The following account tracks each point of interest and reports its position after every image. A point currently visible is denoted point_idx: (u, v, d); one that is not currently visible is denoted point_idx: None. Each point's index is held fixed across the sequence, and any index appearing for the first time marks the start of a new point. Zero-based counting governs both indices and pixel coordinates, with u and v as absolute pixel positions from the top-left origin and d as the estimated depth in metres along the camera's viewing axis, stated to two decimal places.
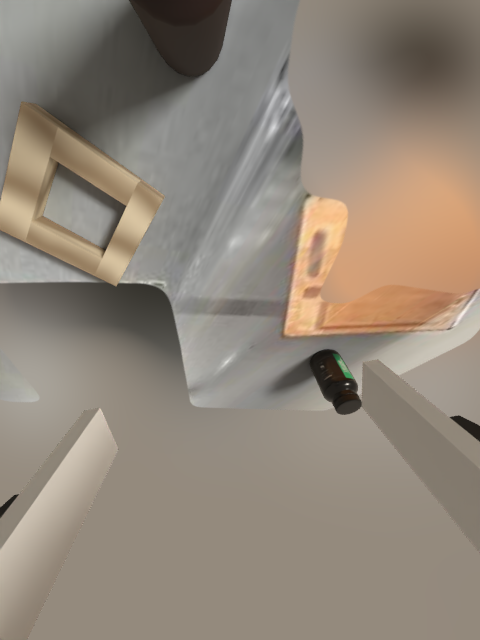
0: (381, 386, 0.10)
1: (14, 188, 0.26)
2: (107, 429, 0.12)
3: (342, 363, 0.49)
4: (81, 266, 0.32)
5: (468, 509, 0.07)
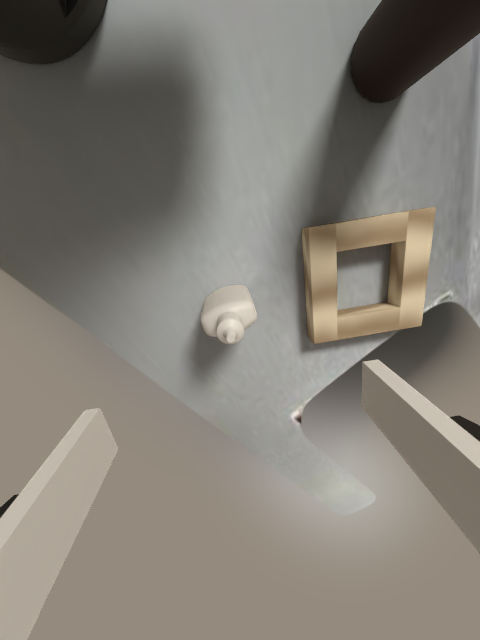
0: (381, 386, 0.10)
1: (319, 299, 0.29)
2: (107, 429, 0.12)
3: None
4: (385, 328, 0.31)
5: (468, 509, 0.07)
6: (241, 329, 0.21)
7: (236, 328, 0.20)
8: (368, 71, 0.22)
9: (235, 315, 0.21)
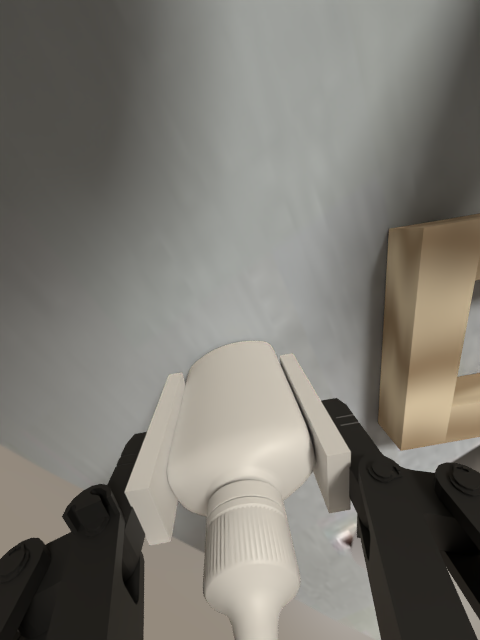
0: (286, 375, 0.12)
1: (423, 374, 0.14)
2: None
3: None
4: None
5: (318, 469, 0.09)
6: (293, 587, 0.06)
7: (276, 595, 0.05)
8: None
9: (266, 506, 0.07)
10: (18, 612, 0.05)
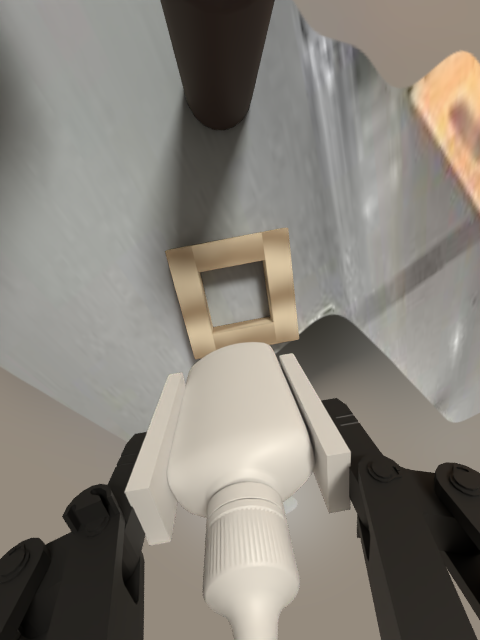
0: (286, 376, 0.12)
1: (191, 317, 0.30)
2: None
3: None
4: None
5: (318, 469, 0.09)
6: (292, 589, 0.06)
7: (276, 597, 0.06)
8: (191, 104, 0.22)
9: (266, 508, 0.07)
10: (18, 612, 0.05)
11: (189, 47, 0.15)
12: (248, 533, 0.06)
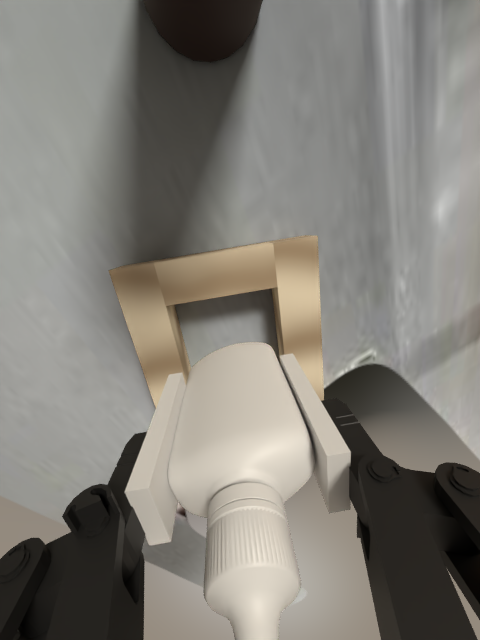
0: (286, 376, 0.12)
1: (156, 374, 0.19)
2: None
3: None
4: None
5: (318, 469, 0.09)
6: (293, 589, 0.06)
7: (277, 597, 0.06)
8: None
9: (267, 508, 0.07)
10: (18, 612, 0.05)
11: None
12: (249, 533, 0.06)
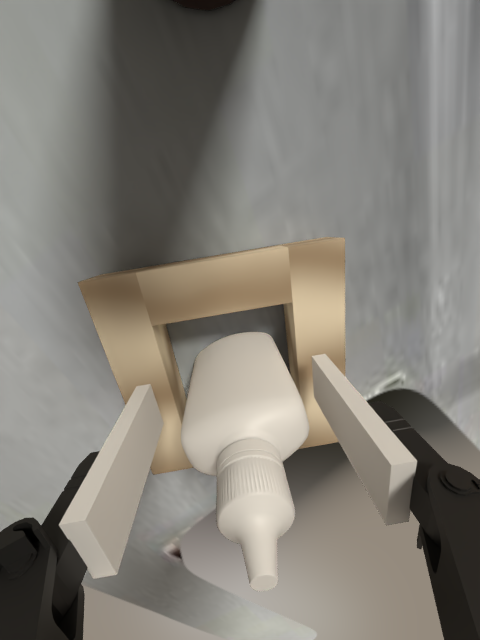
0: (322, 377, 0.12)
1: None
2: (156, 403, 0.13)
3: None
4: None
5: (371, 477, 0.08)
6: (289, 516, 0.07)
7: (275, 519, 0.07)
8: None
9: (267, 457, 0.08)
10: None
11: None
12: (253, 473, 0.07)
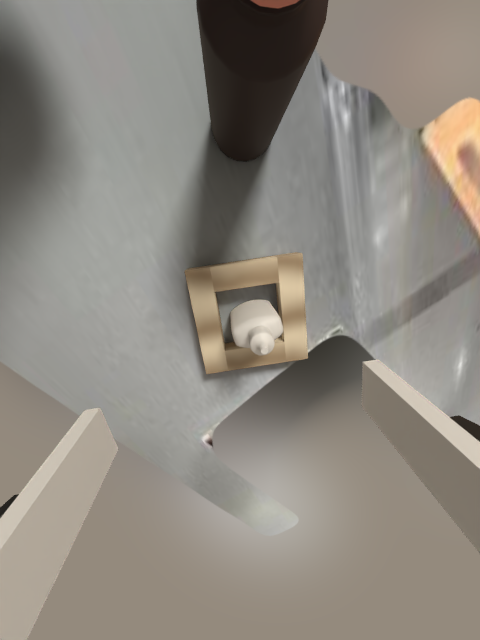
0: (381, 386, 0.10)
1: (205, 334, 0.31)
2: (107, 429, 0.12)
3: None
4: (273, 360, 0.33)
5: (468, 509, 0.07)
6: (272, 342, 0.23)
7: (268, 341, 0.23)
8: (218, 139, 0.24)
9: (266, 329, 0.24)
10: None
11: (226, 101, 0.16)
12: (261, 330, 0.23)
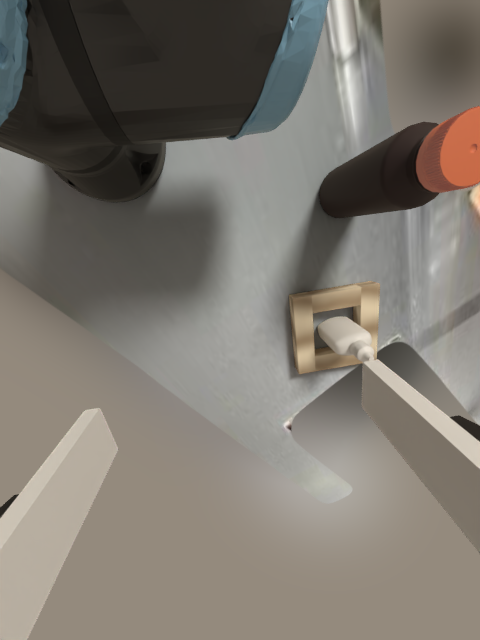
0: (381, 386, 0.10)
1: (301, 344, 0.41)
2: (107, 429, 0.12)
3: None
4: (350, 363, 0.43)
5: (468, 509, 0.07)
6: (373, 352, 0.33)
7: (371, 352, 0.32)
8: (329, 207, 0.34)
9: (365, 343, 0.34)
10: None
11: (369, 206, 0.26)
12: (364, 344, 0.33)
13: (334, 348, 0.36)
